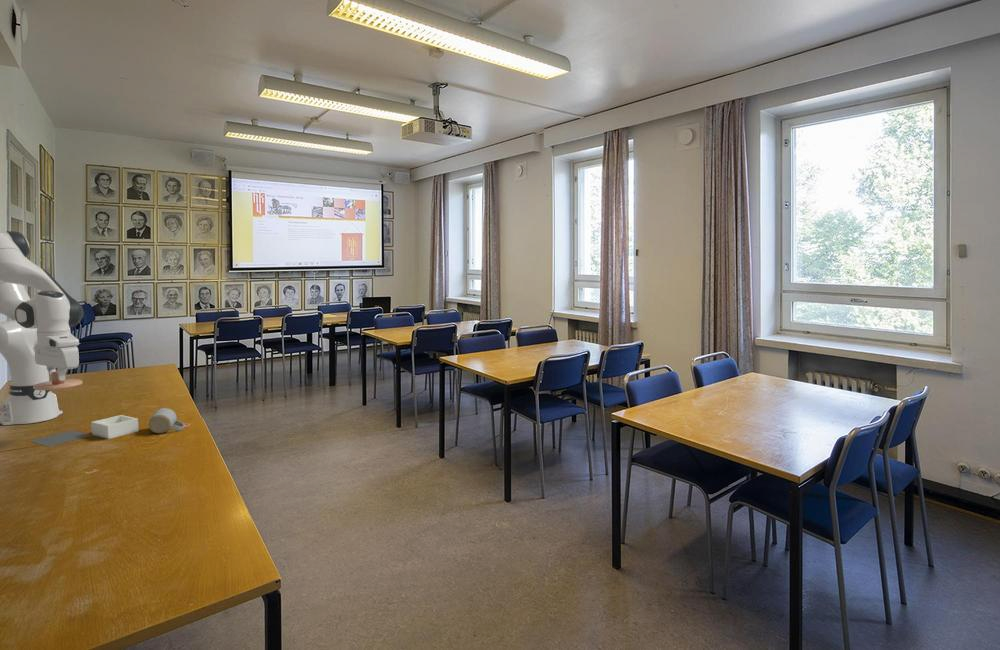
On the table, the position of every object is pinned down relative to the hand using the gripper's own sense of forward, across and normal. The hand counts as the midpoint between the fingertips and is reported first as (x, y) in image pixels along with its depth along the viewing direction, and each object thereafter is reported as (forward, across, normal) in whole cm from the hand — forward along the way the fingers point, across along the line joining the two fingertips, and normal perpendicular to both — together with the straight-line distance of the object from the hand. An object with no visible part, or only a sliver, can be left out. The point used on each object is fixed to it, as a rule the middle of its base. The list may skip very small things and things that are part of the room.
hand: (57, 379), depth 181 cm
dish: (+21, +10, +12) cm, 26 cm away
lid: (+2, 0, 0) cm, 2 cm away
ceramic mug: (+21, +22, +23) cm, 38 cm away
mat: (+21, 0, 0) cm, 21 cm away
